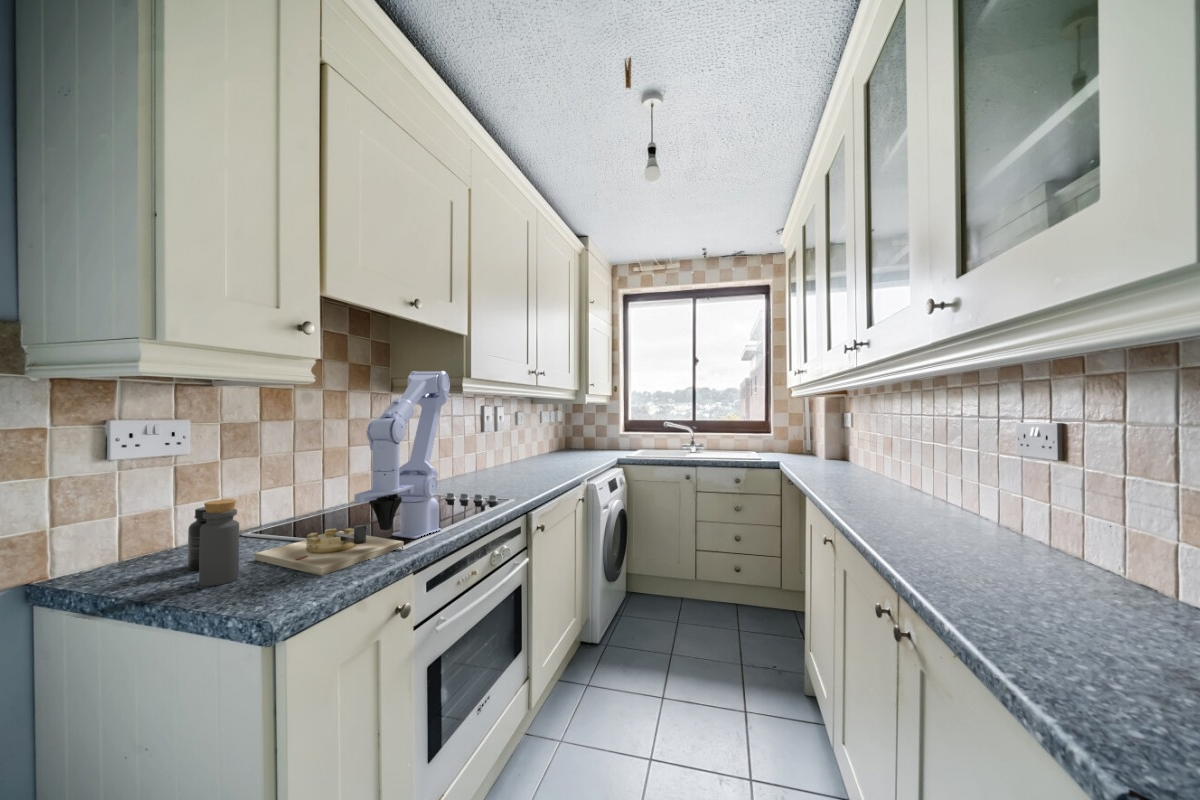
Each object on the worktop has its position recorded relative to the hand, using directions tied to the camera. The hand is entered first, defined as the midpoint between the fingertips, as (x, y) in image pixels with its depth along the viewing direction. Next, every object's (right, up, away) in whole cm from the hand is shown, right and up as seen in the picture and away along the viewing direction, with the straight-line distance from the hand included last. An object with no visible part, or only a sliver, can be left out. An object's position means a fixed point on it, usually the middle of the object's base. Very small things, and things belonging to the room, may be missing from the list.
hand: (385, 529), depth 107 cm
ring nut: (-9, -3, -3) cm, 10 cm away
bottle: (-23, -5, -19) cm, 30 cm away
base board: (-11, -5, -2) cm, 12 cm away
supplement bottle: (-32, -5, -10) cm, 34 cm away
